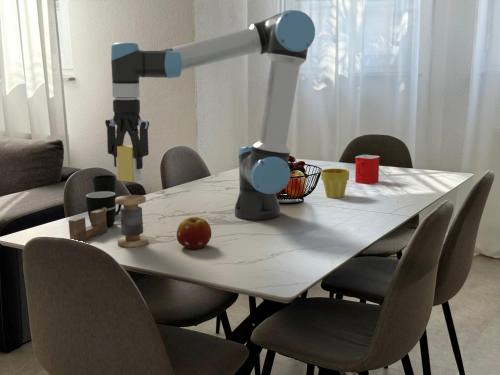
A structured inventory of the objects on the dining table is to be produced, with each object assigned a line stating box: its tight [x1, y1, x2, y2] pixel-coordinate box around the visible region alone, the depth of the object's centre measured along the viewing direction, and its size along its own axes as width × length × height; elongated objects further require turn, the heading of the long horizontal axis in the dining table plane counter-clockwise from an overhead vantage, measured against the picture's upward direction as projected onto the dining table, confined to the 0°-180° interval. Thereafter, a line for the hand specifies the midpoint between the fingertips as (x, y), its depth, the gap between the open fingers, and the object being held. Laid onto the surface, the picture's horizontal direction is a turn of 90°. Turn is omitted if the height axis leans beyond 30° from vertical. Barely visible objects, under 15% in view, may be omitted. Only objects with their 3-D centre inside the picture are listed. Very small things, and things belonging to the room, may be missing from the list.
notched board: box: [68, 209, 108, 243], centre depth 176 cm, size 2×14×7 cm, turn 157°
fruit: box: [176, 216, 212, 250], centre depth 166 cm, size 10×9×8 cm
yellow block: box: [117, 144, 139, 183], centre depth 175 cm, size 5×4×10 cm
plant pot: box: [320, 167, 350, 199], centre depth 225 cm, size 10×10×10 cm
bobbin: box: [115, 194, 149, 249], centre depth 169 cm, size 8×8×13 cm
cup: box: [92, 174, 117, 194], centre depth 207 cm, size 8×8×12 cm
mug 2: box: [354, 154, 380, 185], centre depth 249 cm, size 12×8×11 cm
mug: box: [85, 191, 122, 229], centre depth 189 cm, size 12×9×10 cm
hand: (128, 179), depth 176 cm, fingers closed on yellow block, 5 cm apart
